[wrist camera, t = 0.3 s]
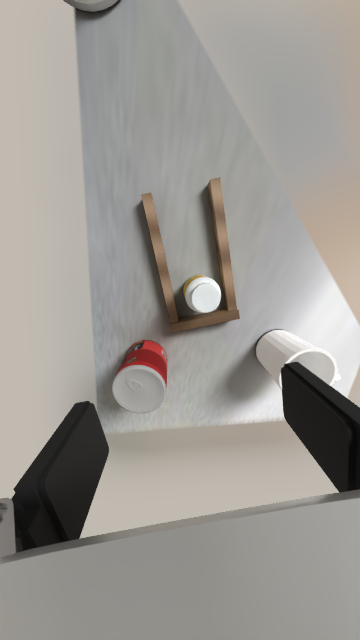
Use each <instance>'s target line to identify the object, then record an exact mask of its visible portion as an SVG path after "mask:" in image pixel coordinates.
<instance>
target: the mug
mask: <svg viewBox="0 0 360 640" xmlns="http://www.w3.org/2000/svg"><path fill="white" fill-rule="evenodd" d="M255 353H256V357H257V359H258V360H259V362H260V363H261V364H262V365H263V366H264V368H265V369H266V370H267V371H268V372H269V374H270V375H271V376H272V377H273V378H274V380H275V381H276V383H277V384H278V386H279V387H280V388H281V390H282V382H281V368H282V367H284V364H286V363H291V362H299V363H300V364H301V365H303V366H304V367H306V368H307V369H308V370H310V371H311V372H312V373H314V374H315V375H316V376H318V377H319V378H320V379H322V380H323V381H324V382H326V383H327V384H328V385H330V386H332V385H333V383H334V382H338V381H339V380H340V375H339V374H338V373H337V363H336V360H335V359H334V357H333V356H332V355H331V354H330V353H328V352H327V351H325V350H323V349H320V348H318V347H316V346H313V345H311V344H309V343H308V342H306V341H304V340H302V339H300V338H298V337H297V336H295V335H293V334H291V333H289V332H287V331H285V330H280V329H276V330H271V331H269V332H267V333H265V334H264V335H262V336H261V338H260V339H259V340H258V342H257V344H256V348H255Z"/></svg>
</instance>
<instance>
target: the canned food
mask: <svg viewBox="0 0 360 640" xmlns="http://www.w3.org/2000/svg"><path fill="white" fill-rule="evenodd" d="M166 386H167V355H166V352H165V351H164V349H163V348H162V347H161V346H160V345H159V344H158V343H156V342H154V341H150V340H142V341H139V342H137V343H135V344H133V345H132V346H131V347H130V348H129V350H128V352H127V354H126V356H125V358H124V360H123V362H122V364H121V366H120V368H119V370H118V372H117V374H116V376H115V378H114V381H113V385H112V393H113V396H114V398H115V400H116V401H117V403H118V404H119V405H120V406H121V407H123V408H124V409H126V410H128V411H130V412H134V413H148V412H151V411H153V410H155V409H157V408H158V407H159V406H160V405H161V404H162V403H163V401H164V398H165V395H166Z"/></svg>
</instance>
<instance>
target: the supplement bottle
mask: <svg viewBox="0 0 360 640" xmlns="http://www.w3.org/2000/svg"><path fill="white" fill-rule="evenodd" d="M183 293H184V296H185V299H186V302H187V304H188V306H189V307H190V308H191V309H192V310H194V311H196V312H199V313H208V312H211V311H213V310H215V309H216V308H217V307H218V305H219V303H220V299H221V290H220V287H219V285H218V284H217V283H216V282H215V281H214V280H213V279H211V278H208V277H206V276H203V275H195V276H192V277H190V278H189V279H188V280H187V281H186V282H185V284H184V288H183Z"/></svg>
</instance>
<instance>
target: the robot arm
mask: <svg viewBox="0 0 360 640" xmlns="http://www.w3.org/2000/svg"><path fill="white" fill-rule="evenodd" d="M64 1H65V2H67V3H68V4H70V5H71V6H73V7H75V8H78V9H80V10H83V11H92V12H94V11H100V10H104V9H106V8H108V7H111V6H112V5H113V4H115V3H116V2H117V1H118V0H64ZM281 382H282V397H283V411H284V417H285V419H286V421H287V423H288V424H289V425H290V427H291V428H292V429H293V431H294V432H295V433H296V435H297V436H298V437H299V439H300V440H301V441H302V443H303V444H304V445H305V447H306V448H307V449H308V451H309V452H310V453H311V455H312V456H313V457H314V459H315V460H316V461H317V463H318V464H319V466H320V467H321V468H322V470H323V471H324V472H325V474H326V475H327V476H328V478H329V479H330V480H331V482H332V483H333V484H334V486H335V487H336V488H337V490H338V491H339V492H340V493H333V494H327V495H321V496H314V497H309V498H303V499H296V500H291V501H286V502H279V503H273V504H268V505H262V506H256V507H251V508H245V509H239V510H233V511H228V512H222V513H217V514H211V515H205V516H200V517H194V518H189V519H183V520H178V521H172V522H168V523H161V524H156V525H150V526H145V527H140V528H134V529H129V530H123V531H118V532H113V533H107V534H102V535H97V536H91V537H86V538H81V539H79V538H80V535H81V532H82V529H83V526H84V523H85V520H86V518H87V515H88V512H89V509H90V506H91V503H92V500H93V497H94V494H95V492H96V488H97V486H98V483H99V480H100V477H101V474H102V471H103V468H104V465H105V463H106V460H107V457H108V453H109V447H108V444H107V441H106V438H105V435H104V432H103V429H102V426H101V423H100V420H99V418H98V415H97V412H96V409H95V406H94V404H93V403H90V402H89V401H85V402H80V403H76V404H75V405H74V406H73V407H72V409H71V410H70V412H69V413H68V414H67V416H66V417H65V418H64V420H63V421H62V423H61V424H60V425H59V427H58V428H57V430H56V431H55V432H54V434H53V435H52V437H51V438H50V439H49V441H48V442H47V443H46V445H45V446H44V448H43V449H42V451H41V452H40V453H39V455H38V456H37V457H36V459H35V460H34V461H33V463H32V464H31V466H30V467H29V469H28V470H27V471H26V473H25V474H24V475H23V477H22V478H21V479H20V481H19V482H18V484H17V485H16V487H15V488H14V491H15V494H14V496H13V497H12V499H9V498H2V499H0V640H360V408H359V407H358V406H357V405H355V404H354V403H352V402H351V401H350V400H349V399H347V398H346V397H345V396H343V395H342V394H340V393H339V392H338V391H336V390H335V389H334V388H332V387H331V386H330V385H328V384H327V383H326V382H324V381H323V380H322V379H320V378H319V377H318V376H316V375H315V374H314V373H312V372H311V371H310V370H308V369H307V368H306V367H304V366H303V365H301V364H300V363H299V362H291V363H286V364H284V367H282V368H281Z"/></svg>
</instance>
